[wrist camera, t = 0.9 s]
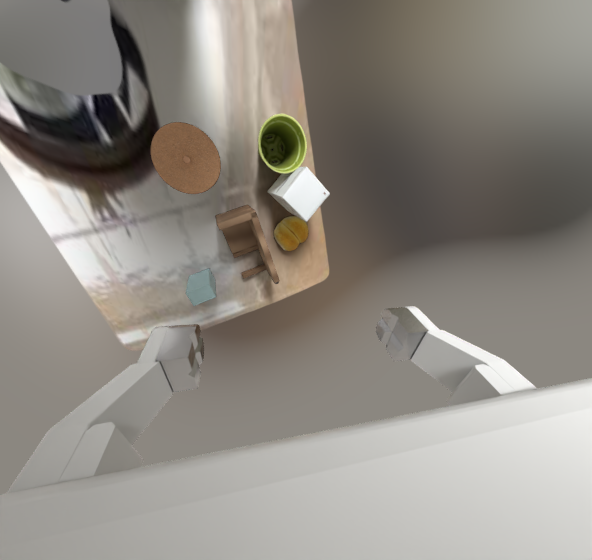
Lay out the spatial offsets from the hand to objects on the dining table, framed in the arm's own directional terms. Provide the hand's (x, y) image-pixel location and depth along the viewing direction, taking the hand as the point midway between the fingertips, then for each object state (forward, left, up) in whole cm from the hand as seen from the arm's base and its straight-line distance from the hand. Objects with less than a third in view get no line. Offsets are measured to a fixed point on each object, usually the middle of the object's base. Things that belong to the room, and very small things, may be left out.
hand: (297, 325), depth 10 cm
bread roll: (+12, +12, -47) cm, 50 cm away
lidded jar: (-9, -3, -47) cm, 48 cm away
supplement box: (+1, +15, -46) cm, 49 cm away
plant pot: (-7, +14, -47) cm, 49 cm away
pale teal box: (+15, -12, -46) cm, 50 cm away
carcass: (+11, +1, -46) cm, 47 cm away
